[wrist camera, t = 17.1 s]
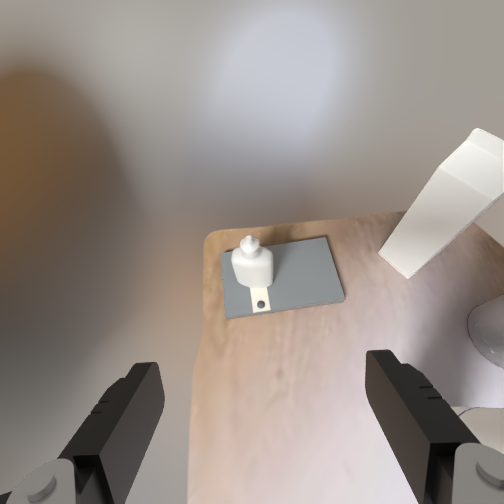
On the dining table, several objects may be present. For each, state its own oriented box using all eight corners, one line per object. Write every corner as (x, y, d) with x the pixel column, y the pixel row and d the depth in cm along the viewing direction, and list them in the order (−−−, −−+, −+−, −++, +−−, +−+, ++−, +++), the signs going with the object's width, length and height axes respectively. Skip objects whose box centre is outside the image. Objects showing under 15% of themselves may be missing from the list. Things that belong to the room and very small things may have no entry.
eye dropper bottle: (249, 259, 43) (241, 215, 33) (278, 277, 41) (278, 235, 31) (233, 279, 42) (218, 240, 31) (262, 299, 40) (257, 263, 29)
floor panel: (324, 241, 46) (325, 236, 44) (343, 302, 40) (345, 298, 39) (221, 257, 46) (220, 252, 44) (226, 319, 40) (225, 316, 39)
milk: (407, 279, 41) (521, 177, 22) (376, 253, 44) (455, 140, 25) (432, 258, 43) (561, 144, 23) (401, 234, 45) (494, 113, 26)
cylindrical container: (450, 411, 32) (802, 436, 11) (460, 486, 29) (1005, 741, 7) (388, 399, 34) (593, 398, 12) (391, 469, 30) (686, 646, 8)
